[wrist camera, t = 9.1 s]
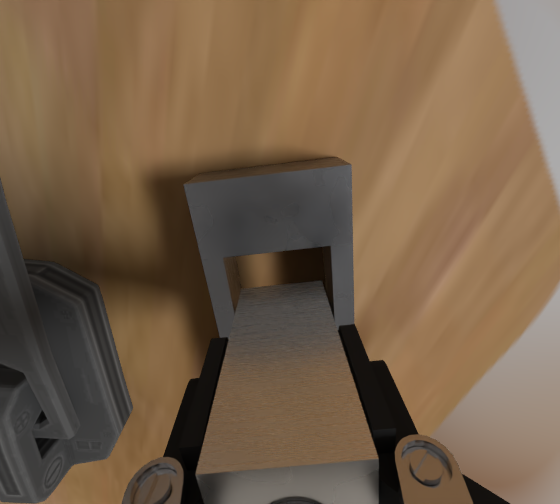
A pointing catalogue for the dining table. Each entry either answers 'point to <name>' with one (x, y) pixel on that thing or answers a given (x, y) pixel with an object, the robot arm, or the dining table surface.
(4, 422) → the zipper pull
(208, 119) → the dining table surface
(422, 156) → the dining table surface
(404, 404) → the robot arm
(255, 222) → the rail
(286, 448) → the grey tall square block
